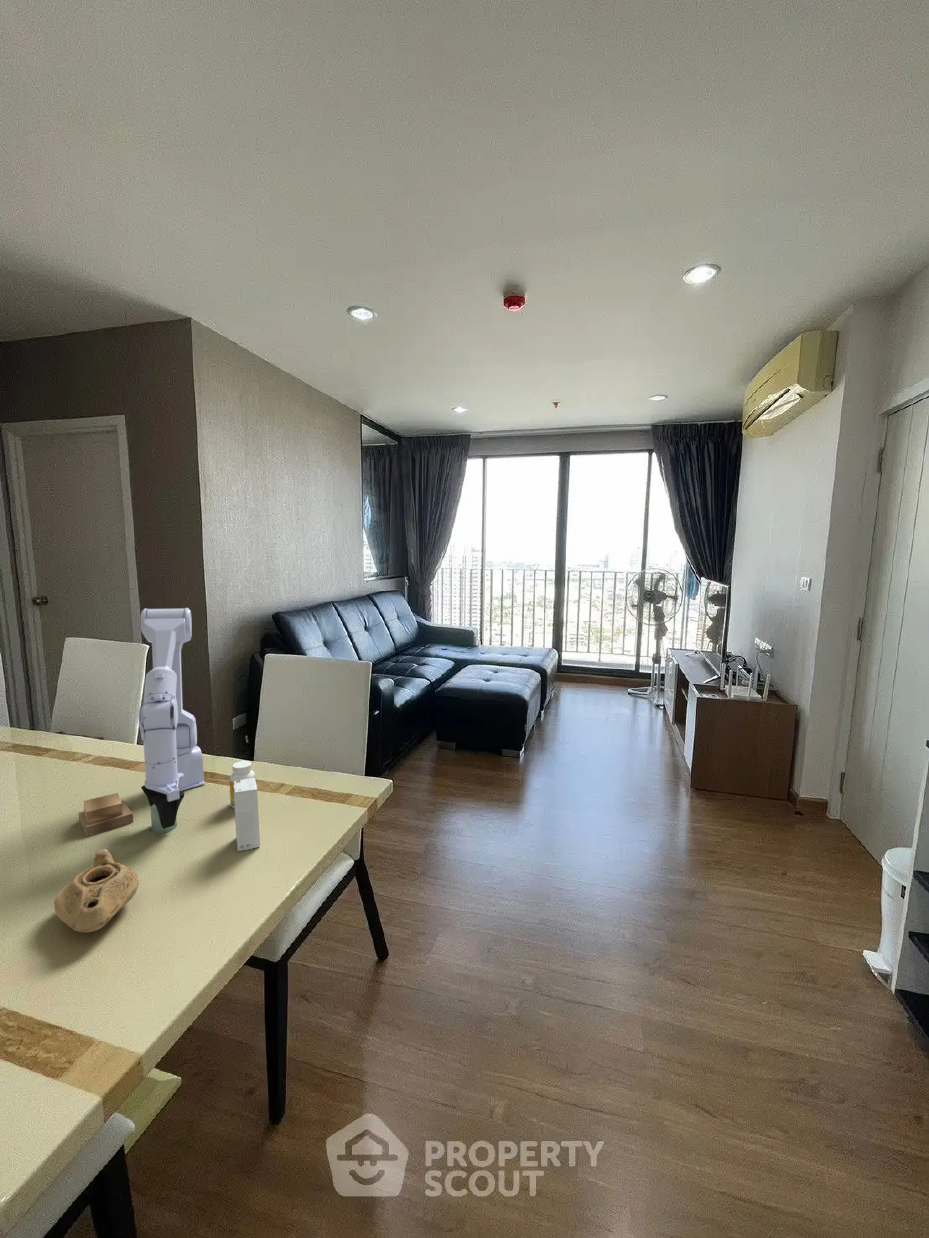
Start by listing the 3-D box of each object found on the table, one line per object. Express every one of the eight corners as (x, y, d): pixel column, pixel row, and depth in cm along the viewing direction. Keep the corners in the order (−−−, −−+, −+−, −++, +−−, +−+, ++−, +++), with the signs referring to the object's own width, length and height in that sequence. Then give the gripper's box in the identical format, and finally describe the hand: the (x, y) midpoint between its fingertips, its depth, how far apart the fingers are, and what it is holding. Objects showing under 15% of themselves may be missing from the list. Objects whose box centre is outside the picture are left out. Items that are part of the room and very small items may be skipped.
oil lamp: (57, 962, 72) (53, 909, 71) (54, 904, 83) (50, 858, 82) (148, 927, 79) (145, 879, 78) (133, 878, 90) (131, 836, 89)
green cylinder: (172, 820, 110) (171, 798, 109) (179, 828, 107) (178, 805, 106) (148, 827, 107) (147, 805, 106) (155, 836, 104) (154, 813, 103)
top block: (118, 803, 112) (117, 792, 112) (122, 814, 108) (121, 803, 108) (84, 812, 108) (83, 800, 108) (87, 823, 104) (86, 811, 104)
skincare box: (260, 847, 100) (259, 789, 99) (235, 852, 99) (234, 793, 97) (258, 832, 106) (257, 776, 104) (234, 836, 104) (233, 780, 103)
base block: (123, 811, 114) (122, 800, 114) (133, 824, 109) (132, 813, 108) (79, 823, 108) (78, 812, 108) (87, 838, 103) (86, 827, 103)
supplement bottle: (236, 798, 120) (235, 759, 119) (259, 798, 120) (258, 759, 119) (226, 809, 115) (225, 768, 114) (250, 809, 115) (249, 769, 114)
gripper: (194, 764, 103) (197, 827, 104) (170, 744, 113) (173, 802, 114) (155, 774, 98) (158, 840, 99) (133, 752, 108) (137, 813, 109)
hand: (164, 821), depth 106 cm, fingers open, 5 cm apart
